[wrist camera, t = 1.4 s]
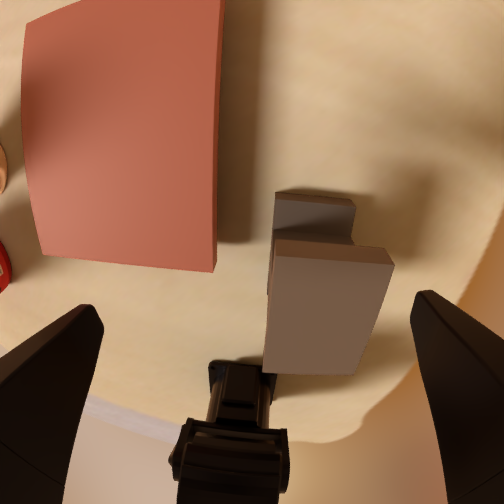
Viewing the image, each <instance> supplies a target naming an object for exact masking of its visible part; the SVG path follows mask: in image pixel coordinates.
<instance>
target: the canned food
mask: <svg viewBox="0 0 504 504" xmlns="http://www.w3.org/2000/svg"><path fill="white" fill-rule="evenodd" d="M11 276H12V270H11V264H10V261H9V258H8V255H7V253H6V250H5V248H4V246H3V245H2V243H1V241H0V293H1V292H2V291H3V290H4V289H5V288H6V287H7V286H8V284H9V282H10V280H11Z"/></svg>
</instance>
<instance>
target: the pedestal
mask: <svg viewBox="0 0 504 504" xmlns="http://www.w3.org/2000/svg"><path fill="white" fill-rule="evenodd" d="M355 210H356V206H355V205H354V204H353V202H352V201H351V200H349V199H341V198H332V197H322V196H312V195H302V194H291V193H279V192H275V204H274V216H273V228H272V239H271V251H270V262H269V273H268V283H267V295H268V307H267V327H266V336H265V345H264V354H263V370H262V372H264V373H280V374H301V375H354V373H355V371H356V368H357V366H358V364H359V362H360V359H361V357H362V355H363V352H364V350H365V347H366V345H367V343H368V340H369V338H370V335H371V333H372V330H373V327H374V325H375V322H376V319H377V317H378V314H379V311H380V309H381V306H382V303H383V300H384V297H385V294H386V291H387V288H388V285H389V282H390V279H391V276H392V273H393V270H394V266H395V264H394V263H393V261H392V260H391V258H390V257H389V255H388V253H387V252H386V250H385V249H384V248H375V247H364V246H355V245H354V243H353V241H352V239H351V237H350V236H351V231H352V226H353V221H354V216H355Z"/></svg>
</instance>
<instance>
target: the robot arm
mask: <svg viewBox="0 0 504 504" xmlns="http://www.w3.org/2000/svg"><path fill="white" fill-rule="evenodd" d="M410 324H411V328H412V333H413V337H414V342H415V347H416V352H417V357H418V362H419V367H420V372H421V376H422V379H423V383H424V387H425V390H426V394H427V397H428V401H429V405H430V409H431V413H432V417H433V421H434V426H435V430H436V435H437V439H438V444H439V449H440V454H441V460H442V465H443V472H444V478H445V485H446V492H447V500H448V504H504V340H503V339H502V338H501V337H499V336H498V335H496V334H495V333H494V332H492V331H491V330H490V329H488V328H487V327H485V326H484V325H482V324H481V323H480V322H478V321H477V320H476V319H474V318H473V317H471V316H469V315H468V314H467V313H466V312H464V311H463V310H461V309H460V308H458V307H457V306H455V305H454V304H452V303H451V302H449V301H448V300H446V299H445V298H443V297H442V296H440V295H439V294H437V293H436V292H434V291H433V290H423V291H418V292H417V294H416V296H415V300H414V303H413V307H412V311H411V315H410ZM103 334H104V325H103V323H102V321H101V319H100V317H99V315H98V313H97V311H96V309H95V307H94V306H93V305H91V304H80V305H78V306H77V307H75V308H74V309H72V310H71V311H69V312H68V313H66V314H65V315H63V316H61V317H60V318H58V319H57V320H55V321H54V322H52V323H51V324H49V325H48V326H46V327H45V328H43V329H42V330H40V331H39V332H37V333H36V334H34V335H33V336H31V337H30V338H29V339H27V340H26V341H24V342H23V343H21V344H20V345H18V346H17V347H15V348H14V349H13V350H11V351H10V352H8V353H7V354H5V355H4V356H3V357H1V358H0V504H62V501H63V495H64V489H65V483H66V477H67V473H68V468H69V463H70V458H71V454H72V450H73V446H74V442H75V438H76V433H77V429H78V426H79V422H80V419H81V415H82V412H83V408H84V405H85V401H86V398H87V395H88V391H89V388H90V385H91V382H92V379H93V375H94V371H95V367H96V363H97V359H98V354H99V350H100V346H101V342H102V338H103ZM262 370H263V366H252V365H241V364H230V363H221V362H210V363H209V366H208V371H209V383H210V393H211V398H210V403H209V408H208V413H207V418H206V421H200V420H194V418H187V421H186V424H184V425H182V428H181V432H180V436H179V439H178V441H177V443H176V445H175V447H174V449H173V451H172V452H171V454H170V456H169V459H168V462H169V464H170V465H171V466H172V471H173V479H174V481H179V483H178V493H177V504H278V501H279V493H285V492H286V490H287V487H288V481H289V474H290V458H289V448H288V436H287V429H283V428H281V429H269V409H270V405H271V404H272V400H273V394H274V389H275V384H276V378H277V373H264V372H262Z"/></svg>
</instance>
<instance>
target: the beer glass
mask: <svg viewBox="0 0 504 504" xmlns="http://www.w3.org/2000/svg"><path fill="white" fill-rule="evenodd" d="M6 181H7V162H6V157H5V153H4V151H3V148H2V146H1V145H0V194H1V193H2V192H3V190H4V188H5V185H6Z"/></svg>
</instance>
